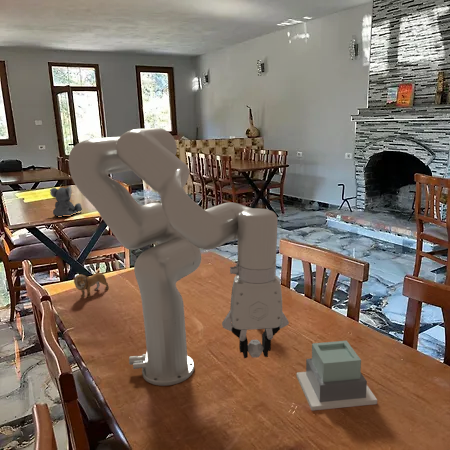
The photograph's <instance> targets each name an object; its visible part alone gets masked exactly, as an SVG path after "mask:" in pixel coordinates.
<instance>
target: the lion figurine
mask: <svg viewBox="0 0 450 450" xmlns="http://www.w3.org/2000/svg"><path fill="white" fill-rule="evenodd" d="M73 283H74V285H75V288H76V289H77V290H79V291H81V294H80V297H85V295H86V293H87V295H86V297H87V298H91V296H92V295H91V287H94V286H95V285H96V287H95V288H94V289H93V290H94V291H97V290H98V289H99V288H100V286H101V285H100V284H102V285H104V286H105V287H104V289H105V290H109V284H108V281H107V278H106V276H105V275H104V273H102V272H96V273H94V274H93V275H90V276H87V275H85V274H76V275H75V276H74V278H73ZM85 291H86V292H85Z"/></svg>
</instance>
